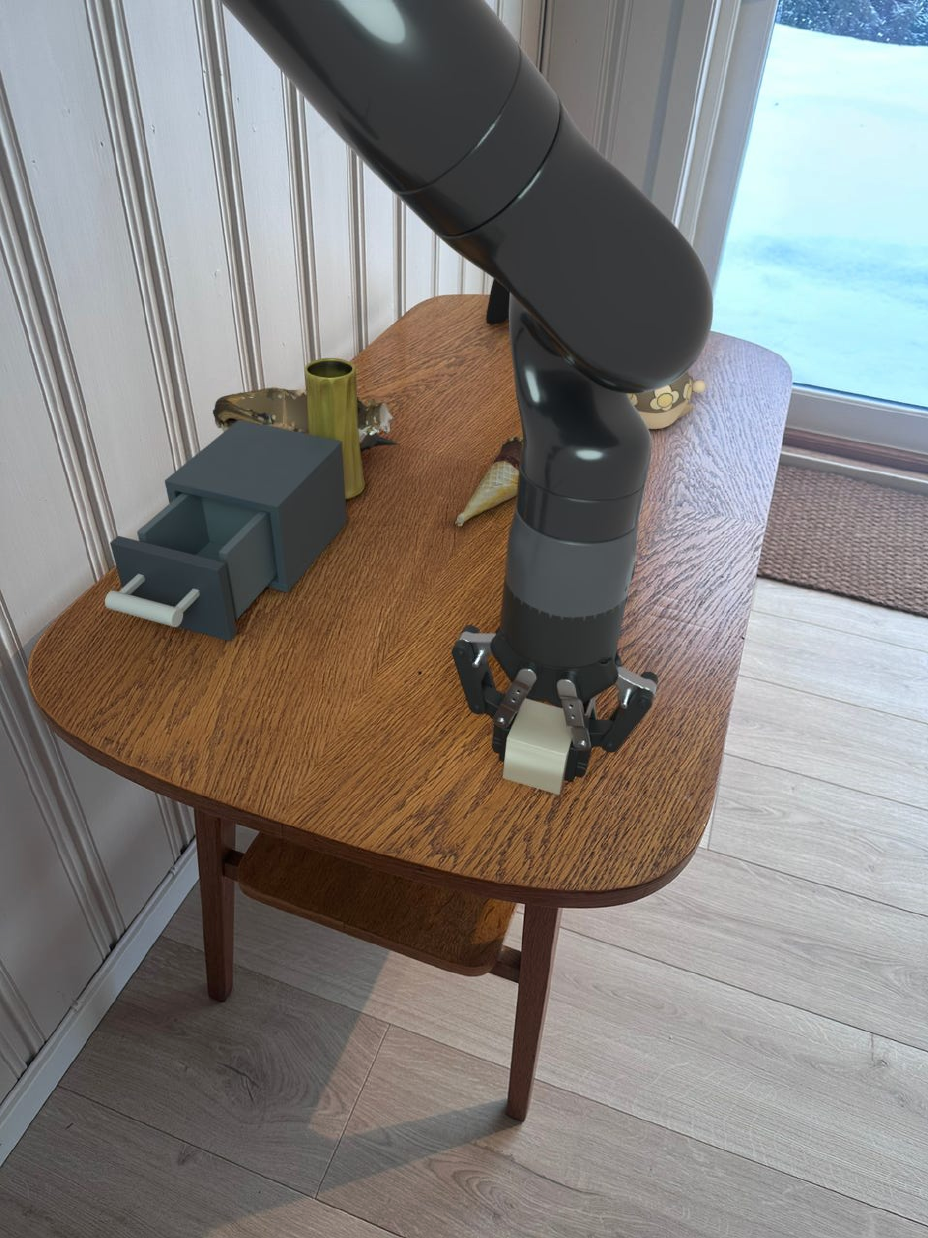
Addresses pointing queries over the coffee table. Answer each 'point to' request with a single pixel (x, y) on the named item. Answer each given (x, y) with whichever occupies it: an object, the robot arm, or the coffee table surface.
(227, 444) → the cabinet
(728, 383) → the coffee table surface
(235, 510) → the drawer
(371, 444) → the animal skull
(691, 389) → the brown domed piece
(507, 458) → the ice cream cone
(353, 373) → the vase
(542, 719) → the block
